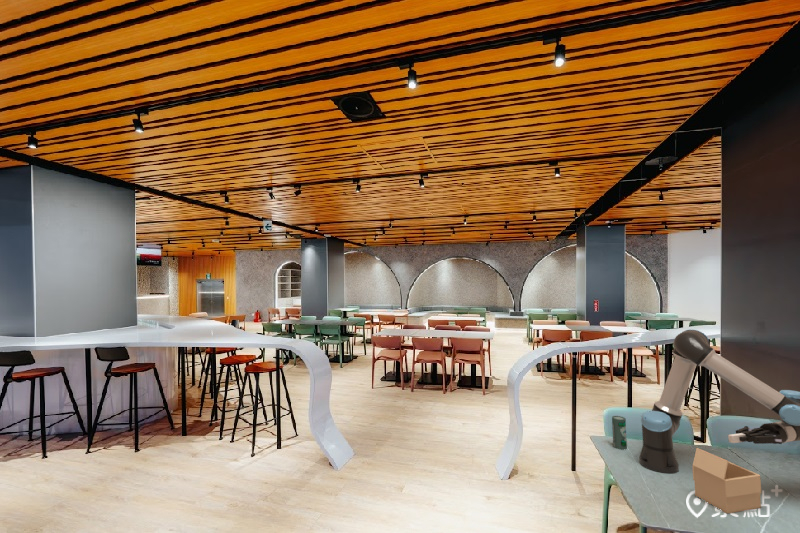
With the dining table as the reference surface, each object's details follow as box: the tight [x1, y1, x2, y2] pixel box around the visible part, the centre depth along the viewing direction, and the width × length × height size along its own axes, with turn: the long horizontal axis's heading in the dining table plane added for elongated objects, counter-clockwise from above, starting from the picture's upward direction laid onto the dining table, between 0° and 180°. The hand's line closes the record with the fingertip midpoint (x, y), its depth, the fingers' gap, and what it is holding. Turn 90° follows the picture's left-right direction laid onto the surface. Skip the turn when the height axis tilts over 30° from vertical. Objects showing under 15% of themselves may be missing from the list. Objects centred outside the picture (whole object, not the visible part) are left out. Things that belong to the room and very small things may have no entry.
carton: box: [691, 461, 762, 514], centre depth 147 cm, size 16×13×12 cm
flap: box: [692, 447, 729, 480], centre depth 146 cm, size 7×12×1 cm
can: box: [611, 415, 628, 451], centre depth 198 cm, size 6×6×15 cm
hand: (730, 439), depth 148 cm, fingers closed
